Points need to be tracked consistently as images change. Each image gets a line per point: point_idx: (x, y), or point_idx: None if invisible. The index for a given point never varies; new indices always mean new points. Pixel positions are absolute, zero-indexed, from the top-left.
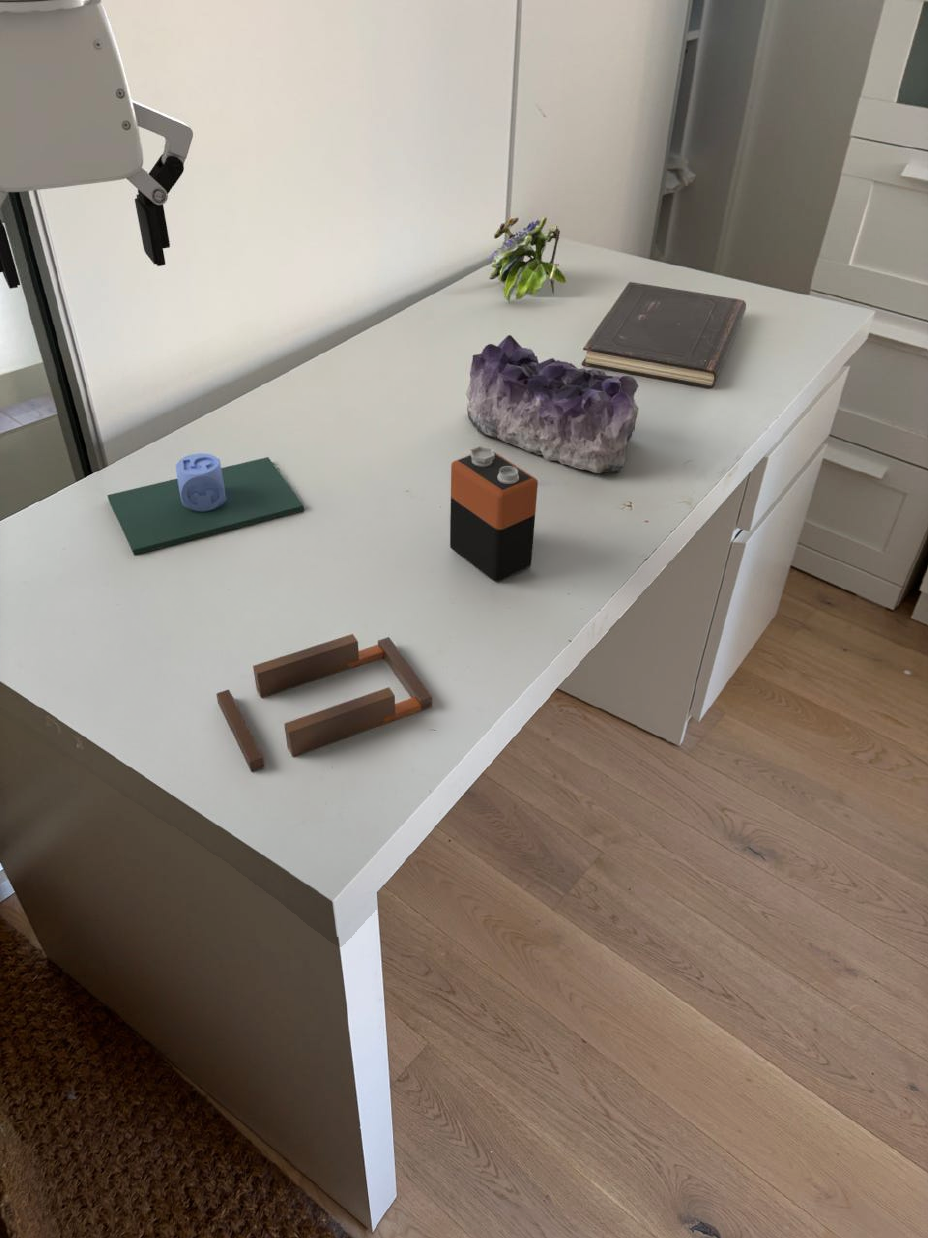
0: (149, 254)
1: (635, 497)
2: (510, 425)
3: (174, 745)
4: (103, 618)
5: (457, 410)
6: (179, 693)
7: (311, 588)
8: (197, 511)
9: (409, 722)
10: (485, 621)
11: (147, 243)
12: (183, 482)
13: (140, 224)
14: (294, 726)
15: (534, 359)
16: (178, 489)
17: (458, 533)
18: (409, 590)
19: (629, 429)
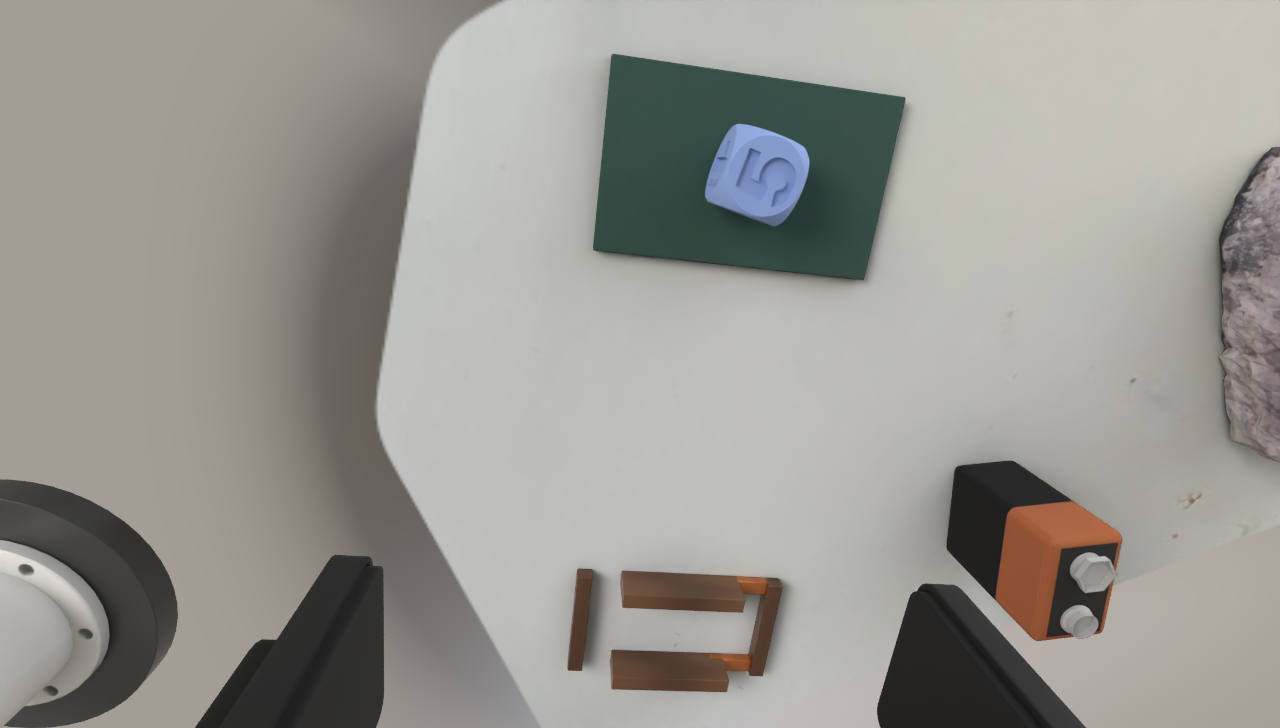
0: (900, 672)
1: (1214, 490)
2: (1257, 300)
3: (514, 598)
4: (508, 367)
5: (1263, 127)
6: (546, 536)
7: (764, 447)
8: None
9: (728, 671)
10: (888, 591)
11: (923, 710)
12: (721, 202)
13: (978, 699)
14: (620, 685)
15: None
16: (725, 113)
17: (972, 503)
18: (858, 508)
19: None
